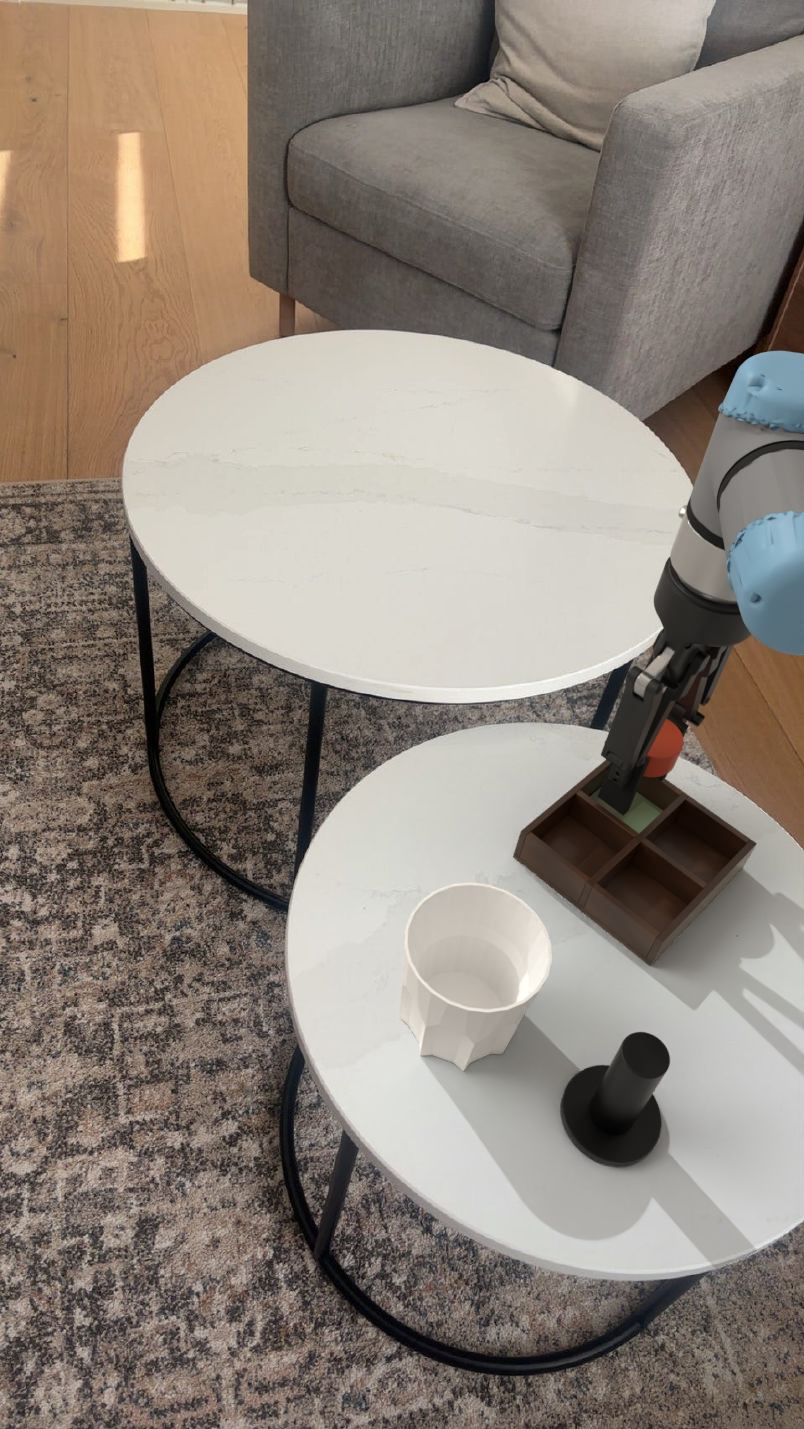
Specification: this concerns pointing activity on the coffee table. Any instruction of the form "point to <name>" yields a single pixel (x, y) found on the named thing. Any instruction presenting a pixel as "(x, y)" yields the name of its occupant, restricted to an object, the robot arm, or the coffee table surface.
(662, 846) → the grid
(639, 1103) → the stand
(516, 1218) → the coffee table surface
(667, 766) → the token
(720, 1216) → the coffee table surface
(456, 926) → the cup
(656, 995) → the coffee table surface
